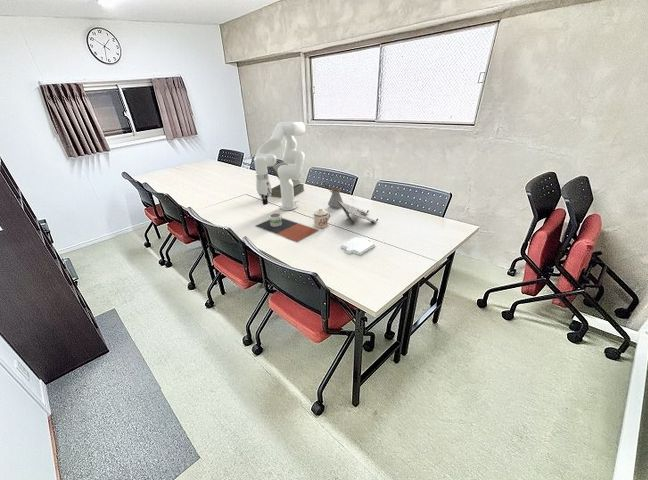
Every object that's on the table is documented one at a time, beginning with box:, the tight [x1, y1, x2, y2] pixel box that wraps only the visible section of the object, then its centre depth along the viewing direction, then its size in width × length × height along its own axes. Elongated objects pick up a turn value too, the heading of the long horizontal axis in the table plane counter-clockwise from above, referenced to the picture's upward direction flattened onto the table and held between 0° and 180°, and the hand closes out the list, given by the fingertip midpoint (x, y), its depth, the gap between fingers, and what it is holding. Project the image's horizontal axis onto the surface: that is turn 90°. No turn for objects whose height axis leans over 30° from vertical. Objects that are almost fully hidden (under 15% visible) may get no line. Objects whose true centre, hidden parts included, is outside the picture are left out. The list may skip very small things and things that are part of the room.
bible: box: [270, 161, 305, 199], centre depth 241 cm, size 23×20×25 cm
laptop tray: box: [337, 201, 379, 224], centre depth 188 cm, size 23×23×9 cm
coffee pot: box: [323, 182, 344, 210], centre depth 212 cm, size 21×12×15 cm, turn 29°
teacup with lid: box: [313, 207, 331, 229], centre depth 184 cm, size 12×9×12 cm
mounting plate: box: [340, 236, 376, 256], centre depth 158 cm, size 18×13×2 cm
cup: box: [268, 212, 282, 227], centre depth 191 cm, size 8×8×7 cm
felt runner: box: [255, 217, 319, 243], centre depth 187 cm, size 20×39×1 cm, turn 46°
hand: (265, 204), depth 191 cm, fingers closed
